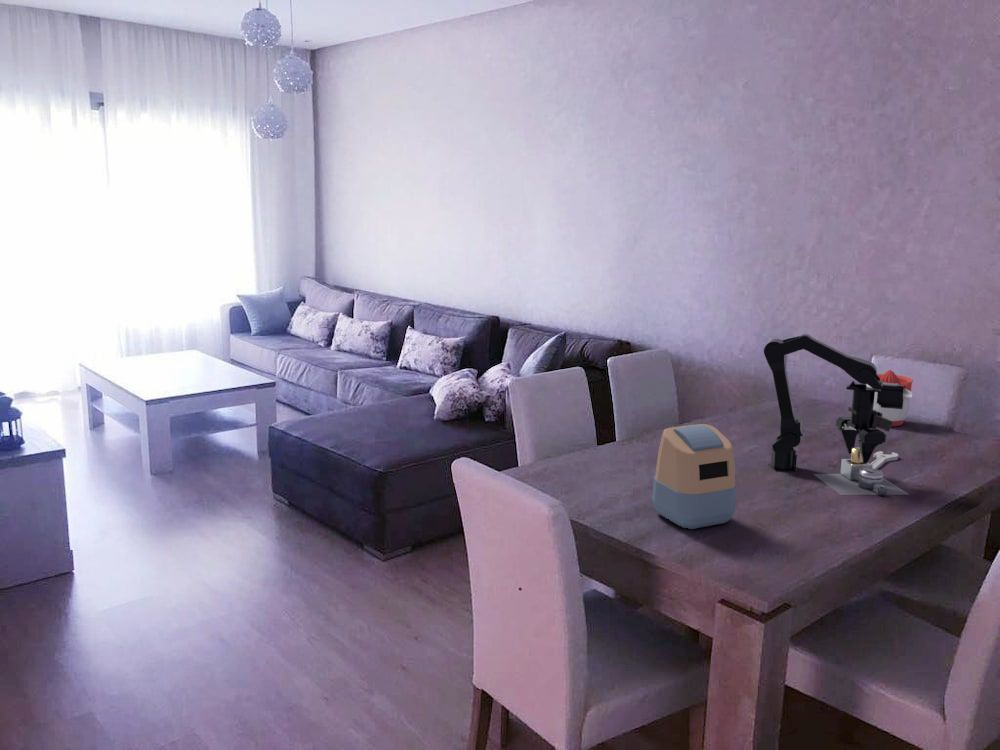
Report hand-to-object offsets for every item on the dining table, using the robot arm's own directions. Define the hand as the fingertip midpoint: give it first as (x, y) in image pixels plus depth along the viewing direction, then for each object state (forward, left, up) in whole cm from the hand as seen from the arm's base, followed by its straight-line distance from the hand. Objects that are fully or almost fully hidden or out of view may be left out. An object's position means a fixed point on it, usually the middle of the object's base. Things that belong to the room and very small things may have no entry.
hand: (857, 458), depth 233 cm
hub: (0, -8, -6) cm, 11 cm away
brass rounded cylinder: (0, 0, -5) cm, 5 cm away
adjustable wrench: (+13, +14, -7) cm, 20 cm away
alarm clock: (-56, -29, -6) cm, 64 cm away
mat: (-2, -5, -6) cm, 8 cm away
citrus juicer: (+41, +62, -6) cm, 74 cm away
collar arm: (0, -7, -6) cm, 9 cm away
